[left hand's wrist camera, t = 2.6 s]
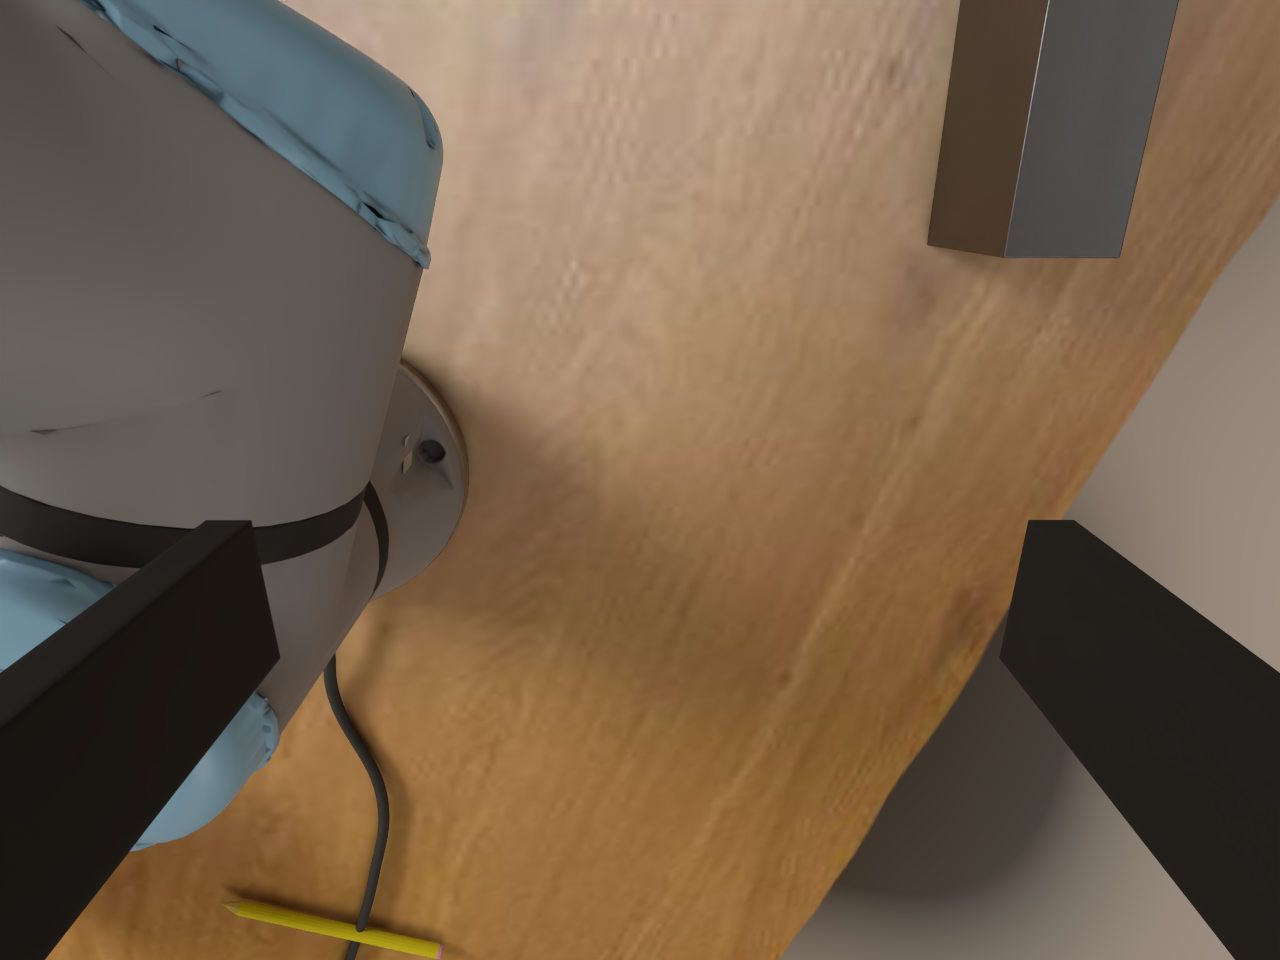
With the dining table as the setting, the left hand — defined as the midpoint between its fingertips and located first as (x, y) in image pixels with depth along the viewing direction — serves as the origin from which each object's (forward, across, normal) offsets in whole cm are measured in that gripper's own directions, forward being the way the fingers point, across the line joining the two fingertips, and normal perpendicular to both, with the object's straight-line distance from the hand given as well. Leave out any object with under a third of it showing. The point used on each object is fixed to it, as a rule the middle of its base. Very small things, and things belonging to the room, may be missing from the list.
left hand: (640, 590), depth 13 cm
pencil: (+28, +23, +44) cm, 57 cm away
